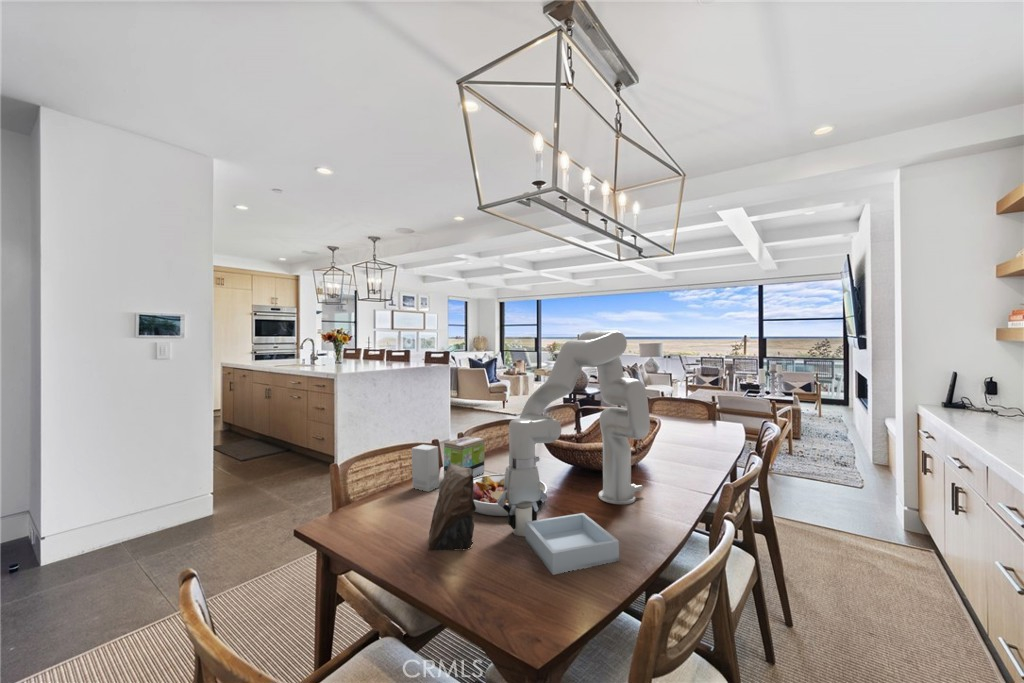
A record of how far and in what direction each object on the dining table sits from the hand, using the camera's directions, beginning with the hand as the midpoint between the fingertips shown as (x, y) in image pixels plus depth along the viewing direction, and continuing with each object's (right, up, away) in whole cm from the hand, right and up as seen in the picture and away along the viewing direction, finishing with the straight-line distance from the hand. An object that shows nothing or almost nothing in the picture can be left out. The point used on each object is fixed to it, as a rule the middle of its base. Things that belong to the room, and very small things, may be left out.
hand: (522, 524), depth 118 cm
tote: (+12, -2, -11) cm, 16 cm away
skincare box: (-36, -3, +36) cm, 51 cm away
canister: (0, -2, 0) cm, 2 cm away
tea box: (-23, -3, +50) cm, 55 cm away
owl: (-20, -2, -6) cm, 21 cm away
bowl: (-6, -3, +23) cm, 24 cm away
